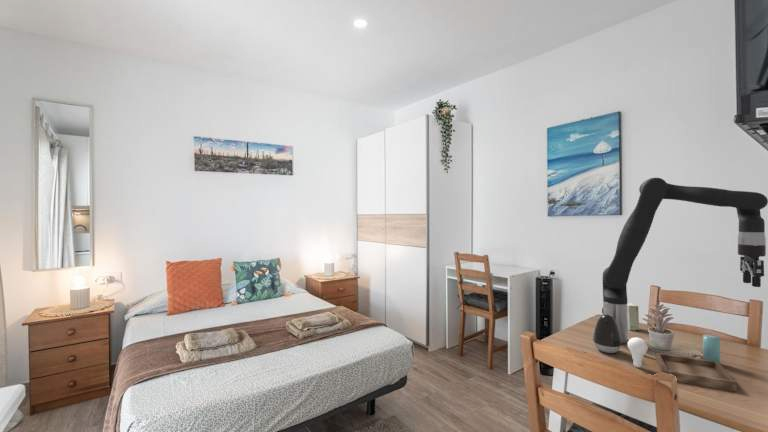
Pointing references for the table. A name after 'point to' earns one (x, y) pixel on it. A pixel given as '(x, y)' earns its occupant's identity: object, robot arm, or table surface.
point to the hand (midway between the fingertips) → (751, 284)
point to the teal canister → (711, 348)
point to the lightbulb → (637, 350)
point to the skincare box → (633, 316)
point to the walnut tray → (696, 371)
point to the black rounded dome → (607, 335)
